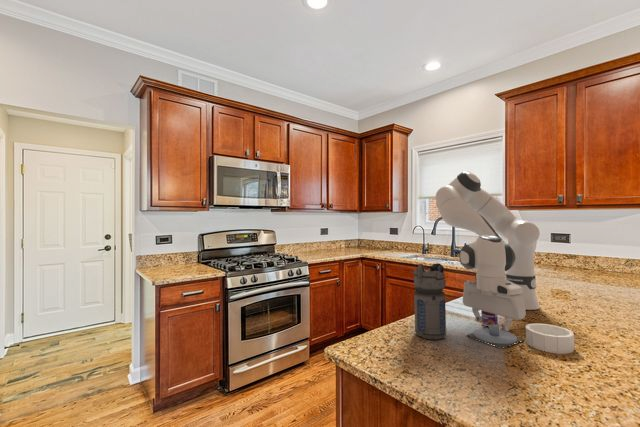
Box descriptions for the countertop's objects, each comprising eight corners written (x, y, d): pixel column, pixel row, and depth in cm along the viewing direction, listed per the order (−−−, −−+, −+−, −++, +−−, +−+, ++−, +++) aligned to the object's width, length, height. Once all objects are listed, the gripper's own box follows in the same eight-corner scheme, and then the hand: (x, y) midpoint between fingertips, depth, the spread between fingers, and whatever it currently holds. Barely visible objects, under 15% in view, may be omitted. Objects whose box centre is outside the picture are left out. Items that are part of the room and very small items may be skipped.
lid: (465, 334, 107) (465, 323, 107) (488, 328, 113) (488, 317, 113) (501, 347, 96) (501, 335, 96) (525, 339, 102) (524, 327, 102)
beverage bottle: (456, 334, 109) (454, 262, 109) (433, 344, 101) (431, 266, 101) (430, 326, 117) (429, 259, 117) (407, 335, 109) (406, 263, 110)
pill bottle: (479, 325, 117) (479, 299, 118) (483, 322, 121) (483, 296, 122) (495, 328, 114) (495, 301, 114) (499, 325, 118) (498, 299, 118)
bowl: (518, 343, 101) (517, 327, 101) (539, 336, 106) (538, 321, 106) (561, 357, 90) (560, 339, 90) (581, 348, 96) (581, 332, 96)
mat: (466, 336, 107) (466, 334, 107) (488, 330, 113) (488, 328, 113) (501, 349, 96) (501, 347, 96) (523, 341, 102) (523, 339, 102)
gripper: (458, 279, 113) (458, 318, 113) (515, 291, 95) (516, 337, 95) (469, 278, 116) (470, 315, 116) (528, 289, 98) (528, 333, 97)
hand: (491, 325), depth 105 cm, fingers open, 8 cm apart
